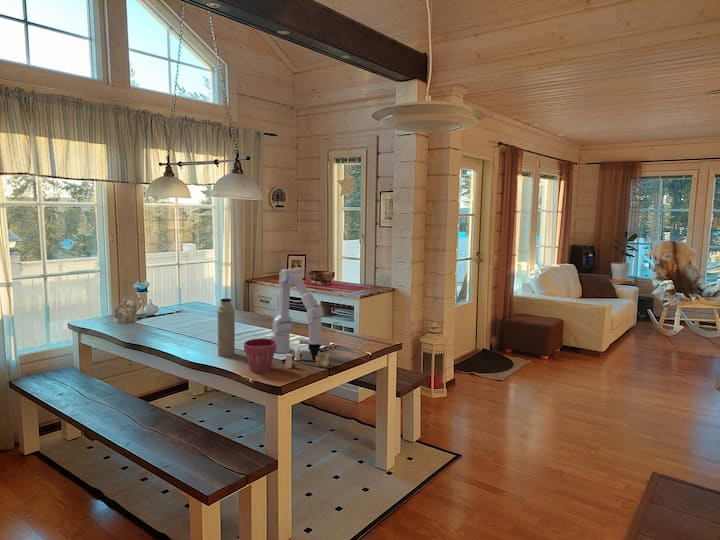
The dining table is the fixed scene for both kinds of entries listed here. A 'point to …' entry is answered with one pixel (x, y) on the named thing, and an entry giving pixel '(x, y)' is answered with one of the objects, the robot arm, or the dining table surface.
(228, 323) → the thermos bottle
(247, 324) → the dining table surface
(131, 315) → the grey rough lump
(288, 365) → the latch stile
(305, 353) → the gate
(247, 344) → the plant pot
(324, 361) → the block
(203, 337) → the dining table surface
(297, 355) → the gate post
